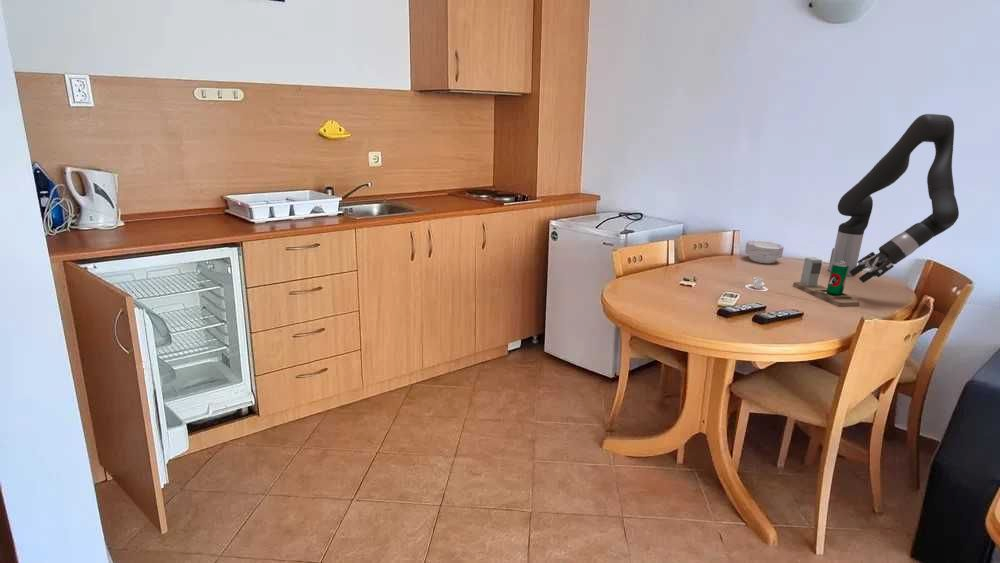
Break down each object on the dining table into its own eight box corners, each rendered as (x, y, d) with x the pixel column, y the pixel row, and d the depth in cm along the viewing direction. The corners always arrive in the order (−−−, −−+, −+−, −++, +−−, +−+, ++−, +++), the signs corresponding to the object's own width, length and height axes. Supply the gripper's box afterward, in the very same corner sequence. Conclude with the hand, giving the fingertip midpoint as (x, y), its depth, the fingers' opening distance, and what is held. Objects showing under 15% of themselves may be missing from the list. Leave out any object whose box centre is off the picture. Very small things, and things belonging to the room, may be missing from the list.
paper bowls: (787, 266, 257) (790, 248, 255) (752, 264, 256) (755, 246, 254) (771, 257, 271) (774, 240, 269) (738, 256, 271) (741, 239, 269)
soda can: (843, 297, 209) (851, 264, 206) (828, 296, 210) (835, 263, 207) (839, 293, 214) (846, 261, 211) (824, 291, 215) (831, 259, 212)
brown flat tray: (793, 286, 227) (794, 280, 226) (811, 285, 228) (812, 279, 228) (839, 306, 204) (840, 300, 204) (859, 306, 206) (860, 299, 205)
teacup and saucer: (757, 284, 228) (758, 274, 227) (774, 290, 221) (776, 280, 220) (740, 287, 224) (741, 276, 223) (757, 293, 217) (758, 282, 216)
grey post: (800, 283, 226) (805, 257, 223) (809, 282, 227) (814, 257, 224) (808, 286, 221) (814, 260, 218) (818, 286, 222) (823, 260, 219)
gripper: (882, 235, 211) (841, 264, 216) (902, 244, 197) (857, 274, 202) (895, 251, 212) (854, 279, 217) (915, 261, 198) (871, 291, 203)
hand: (855, 277), depth 209 cm, fingers open, 8 cm apart
